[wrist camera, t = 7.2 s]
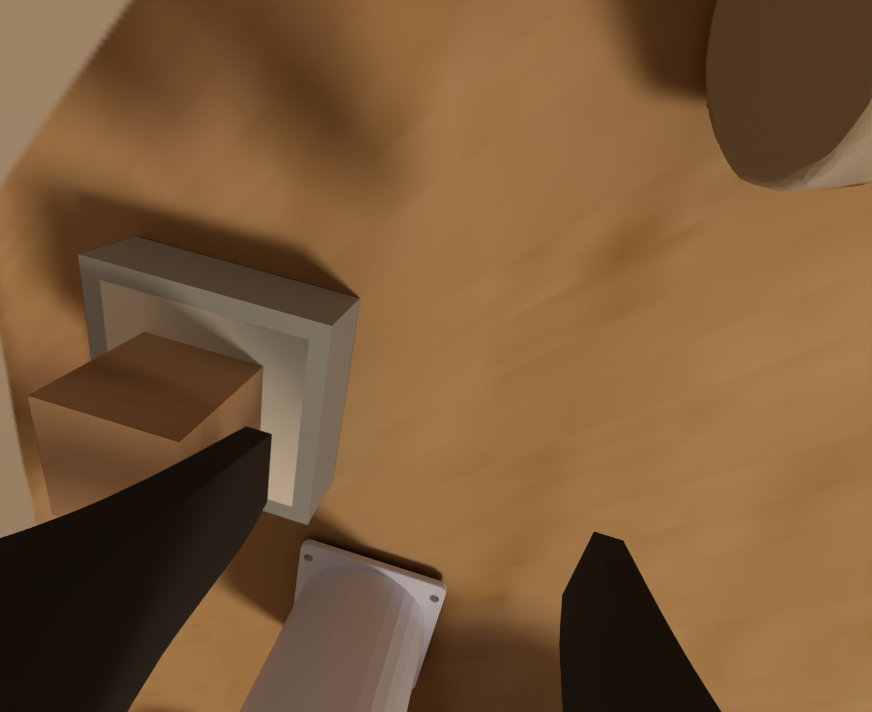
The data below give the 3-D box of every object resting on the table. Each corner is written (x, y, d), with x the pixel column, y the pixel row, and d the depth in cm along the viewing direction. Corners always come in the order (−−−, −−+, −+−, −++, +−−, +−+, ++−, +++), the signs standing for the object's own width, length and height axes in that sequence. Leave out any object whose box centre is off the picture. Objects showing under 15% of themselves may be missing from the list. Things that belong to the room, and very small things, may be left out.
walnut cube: (258, 466, 22) (184, 557, 17) (151, 433, 22) (52, 514, 18) (263, 366, 19) (179, 442, 15) (144, 331, 20) (27, 395, 15)
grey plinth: (332, 481, 25) (307, 525, 23) (149, 424, 26) (104, 460, 23) (359, 298, 21) (332, 326, 18) (135, 236, 21) (77, 254, 19)
